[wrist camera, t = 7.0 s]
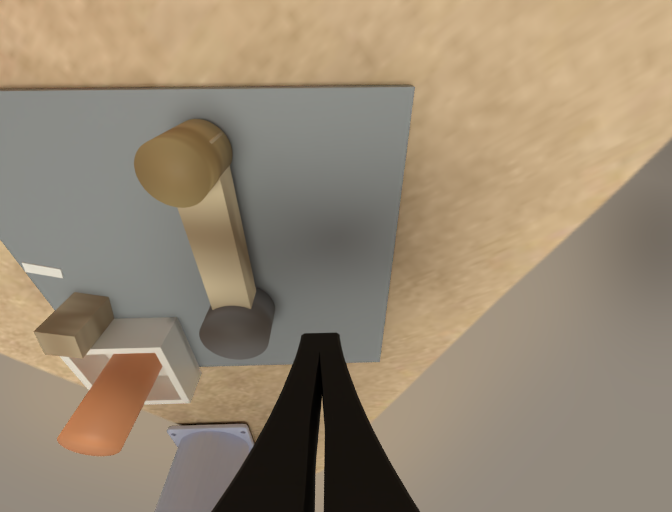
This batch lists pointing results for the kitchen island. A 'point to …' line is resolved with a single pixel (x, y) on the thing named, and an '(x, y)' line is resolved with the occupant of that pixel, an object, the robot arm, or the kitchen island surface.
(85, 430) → the pin
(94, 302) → the stop post
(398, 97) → the board
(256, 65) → the kitchen island surface
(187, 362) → the dish
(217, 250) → the crank
